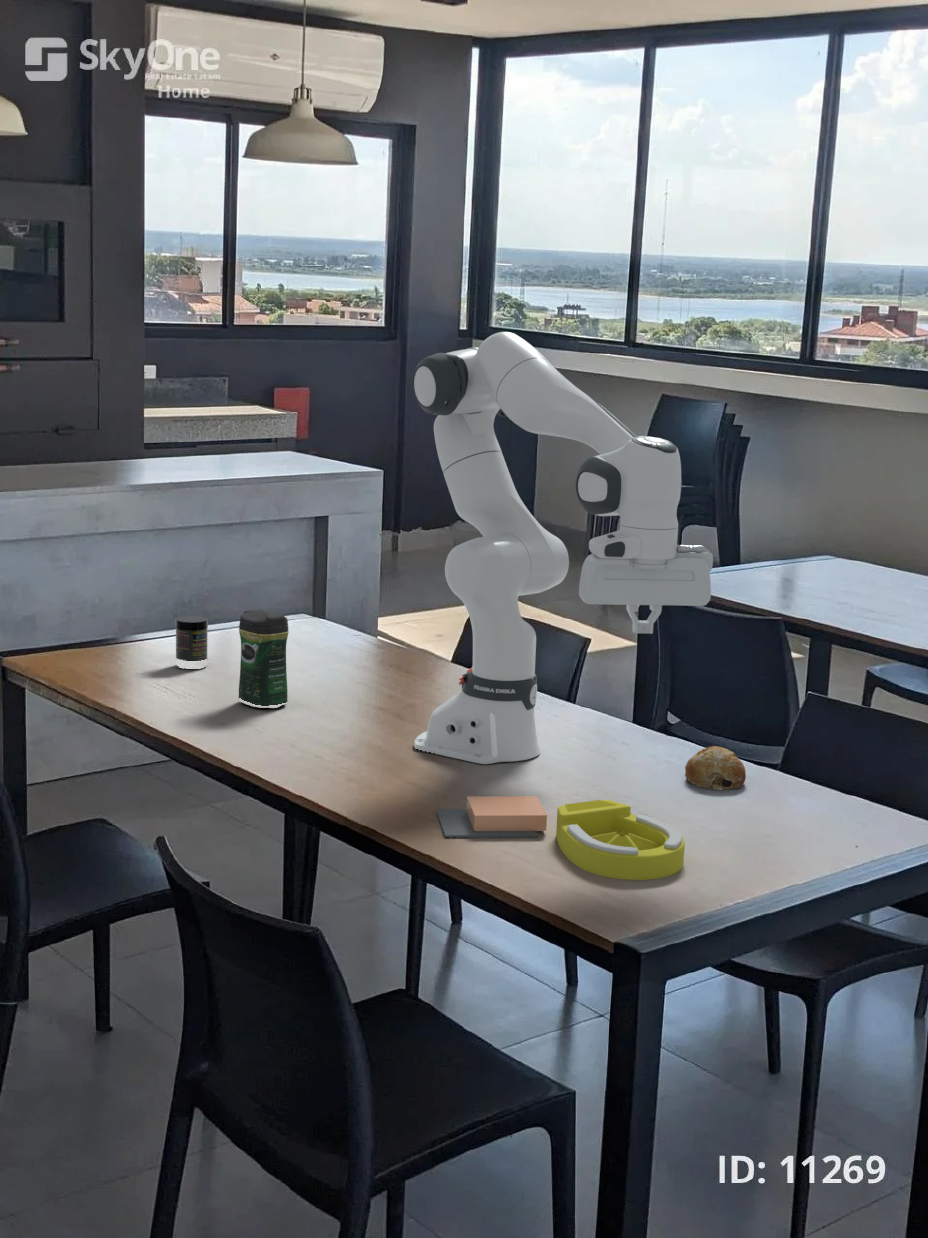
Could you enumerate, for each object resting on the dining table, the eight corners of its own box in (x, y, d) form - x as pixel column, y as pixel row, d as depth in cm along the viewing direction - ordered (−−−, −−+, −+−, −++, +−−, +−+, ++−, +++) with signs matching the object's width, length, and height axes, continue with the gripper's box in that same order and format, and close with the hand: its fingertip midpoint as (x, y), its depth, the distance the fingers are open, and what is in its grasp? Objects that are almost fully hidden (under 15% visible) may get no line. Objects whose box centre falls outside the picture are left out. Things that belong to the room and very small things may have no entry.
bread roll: (692, 809, 256) (704, 774, 252) (672, 768, 264) (683, 733, 259) (746, 806, 259) (758, 771, 254) (724, 765, 267) (736, 731, 262)
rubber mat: (525, 811, 241) (525, 808, 240) (537, 837, 229) (537, 834, 229) (436, 811, 239) (436, 809, 239) (445, 837, 227) (445, 835, 227)
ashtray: (625, 827, 236) (627, 796, 235) (705, 872, 218) (708, 839, 217) (533, 840, 229) (535, 808, 228) (608, 888, 211) (610, 854, 210)
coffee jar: (294, 706, 297) (296, 613, 294) (261, 712, 292) (262, 617, 288) (264, 696, 304) (265, 604, 300) (231, 702, 299) (232, 609, 295)
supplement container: (213, 665, 328) (214, 618, 326) (196, 672, 322) (196, 623, 319) (187, 661, 330) (187, 614, 328) (169, 668, 324) (169, 619, 322)
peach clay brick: (536, 796, 239) (467, 796, 237) (547, 815, 230) (474, 815, 229) (536, 812, 239) (466, 812, 238) (546, 831, 230) (473, 831, 229)
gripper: (708, 542, 238) (702, 629, 241) (579, 539, 235) (574, 627, 238) (719, 548, 232) (713, 637, 235) (587, 546, 229) (582, 636, 232)
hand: (642, 632), depth 236 cm, fingers closed
